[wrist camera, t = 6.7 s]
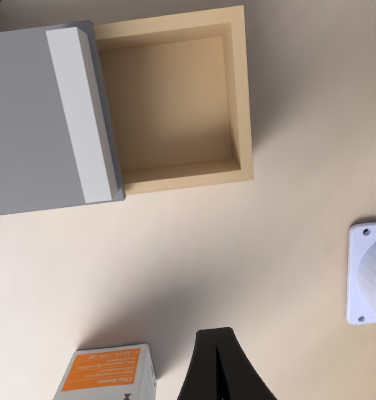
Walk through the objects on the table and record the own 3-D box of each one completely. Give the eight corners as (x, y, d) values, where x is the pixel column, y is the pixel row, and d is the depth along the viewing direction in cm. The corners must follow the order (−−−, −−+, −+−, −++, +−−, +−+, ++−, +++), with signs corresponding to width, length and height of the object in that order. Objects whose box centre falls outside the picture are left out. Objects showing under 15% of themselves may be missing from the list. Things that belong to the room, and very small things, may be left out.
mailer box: (230, 25, 18) (243, 4, 14) (240, 164, 20) (253, 179, 16) (-13, 57, 18) (-66, 46, 14) (26, 190, 20) (-11, 211, 17)
